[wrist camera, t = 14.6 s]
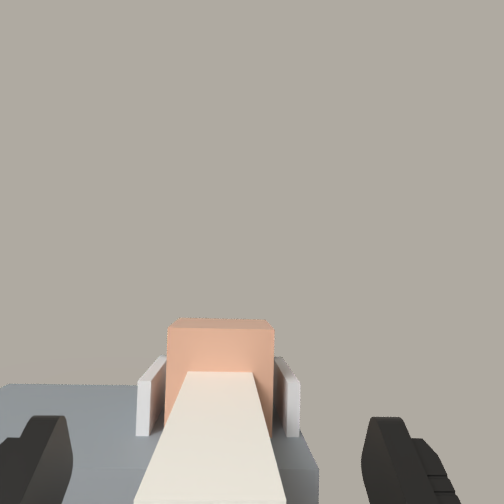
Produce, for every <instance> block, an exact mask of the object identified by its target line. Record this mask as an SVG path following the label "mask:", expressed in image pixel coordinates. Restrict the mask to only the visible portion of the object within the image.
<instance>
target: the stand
mask: <svg viewBox="0 0 504 504" xmlns="http://www.w3.org/2000/svg"><path fill="white" fill-rule="evenodd" d="M166 362H167V355H160V356H159V357H158V358H157V360H156V361H155V362H154V363H153V364H152V365H151V367H150V368H149V369H148V370H147V371H146V373H144V375H143V376H142V377H141V378H140V379H139V380H138V386H128V385H127V386H126V385H49V384H48V385H47V384H8V385H6V386H4V387H2V388H0V444H1V443H2V442H3V441H4V440H5V439H6V438H7V437H16V438H20V436H21V434H22V432H23V430H24V428H25V426H26V424H27V422H28V421H29V419H30V418H31V417H32V416H34V415H60V416H65V418H66V421H67V426H68V431H69V436H70V442H71V447H72V452H73V469H72V475H71V479H70V482H69V485H68V487H67V490H66V493H65V496H64V498H63V501H62V504H134V498H135V496H136V494H137V491H138V489H139V486H140V484H141V482H142V479H143V477H144V474H145V472H146V470H147V467H148V465H149V463H150V460H151V458H152V455H153V453H154V451H155V448H156V446H157V444H158V441H159V439H160V436H161V434H162V432H163V429H164V415H165V389H166ZM270 441H271V445H272V448H273V452H274V456H275V460H276V463H277V467H278V471H279V475H280V478H281V482H282V486H283V490H284V493H285V497H286V504H318V495H319V493H318V492H319V468H318V466H317V464H316V462H315V460H314V458H313V456H312V454H311V452H310V450H309V448H308V446H307V443H306V441H305V439H304V437H303V435H302V433H301V431H300V382H299V380H298V379H297V378H296V376H295V375H294V373H293V372H292V370H291V369H290V368H289V366H288V365H287V363H286V362H285V360H284V359H283V357H274V374H273V416H272V438H270Z"/></svg>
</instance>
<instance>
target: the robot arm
mask: <svg viewBox="0 0 504 504" xmlns="http://www.w3.org/2000/svg"><path fill="white" fill-rule="evenodd" d="M361 468H362V476H363V481H364V484H365V487H366V491H367V494H368V498H369V502H370V504H461V503H460V500H459V498H458V497H457V496H456V495H455V490H454V488H453V486H452V484H451V482H450V480H449V479H448V478H447V473H446V471H445V469H444V467H443V465H442V463H441V461H440V459H439V457H438V455H437V454H436V453H435V452H434V451H433V450H432V449H431V447H430V446H429V445H428V444H427V443H426V442H425V441H424V440H423V439H416V438H411V437H410V435H409V433H408V430H407V428H406V426H405V423H404V422H403V420H402V419H401V418H400V417H372V418H371V419H370V422H369V426H368V430H367V434H366V439H365V443H364V447H363V452H362V459H361ZM72 469H73V452H72V447H71V442H70V436H69V431H68V426H67V421H66V418H65V416H60V415H34V416H32V417H31V418H30V419H29V421H28V422H27V424H26V426H25V428H24V430H23V432H22V434H21V436H20V438H16V437H7V438H6V439H5V440H4V441H3V442H2V443H1V444H0V504H62V501H63V498H64V496H65V493H66V490H67V487H68V485H69V482H70V479H71V475H72Z"/></svg>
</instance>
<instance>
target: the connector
mask: <svg viewBox="0 0 504 504" xmlns="http://www.w3.org/2000/svg"><path fill="white" fill-rule="evenodd" d="M273 374H274V329H273V327H272V326H271V325H270V324H269V323H268V322H267V321H266V320H255V319H253V320H251V319H209V318H179V319H177V320H176V321H175V322H174V323H173V324H171V325H170V326H169V327H168V336H167V362H166V389H165V415H164V429H163V432H162V434H161V436H160V439H159V441H158V444H157V446H156V448H155V451H154V453H153V455H152V458H151V460H150V463H149V465H148V467H147V470H146V472H145V474H144V477H143V479H142V482H141V484H140V486H139V489H138V491H137V494H136V496H135V498H134V504H286V497H285V493H284V490H283V486H282V482H281V478H280V475H279V471H278V467H277V463H276V460H275V456H274V452H273V448H272V445H271V441H270V438H272V416H273Z"/></svg>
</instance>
